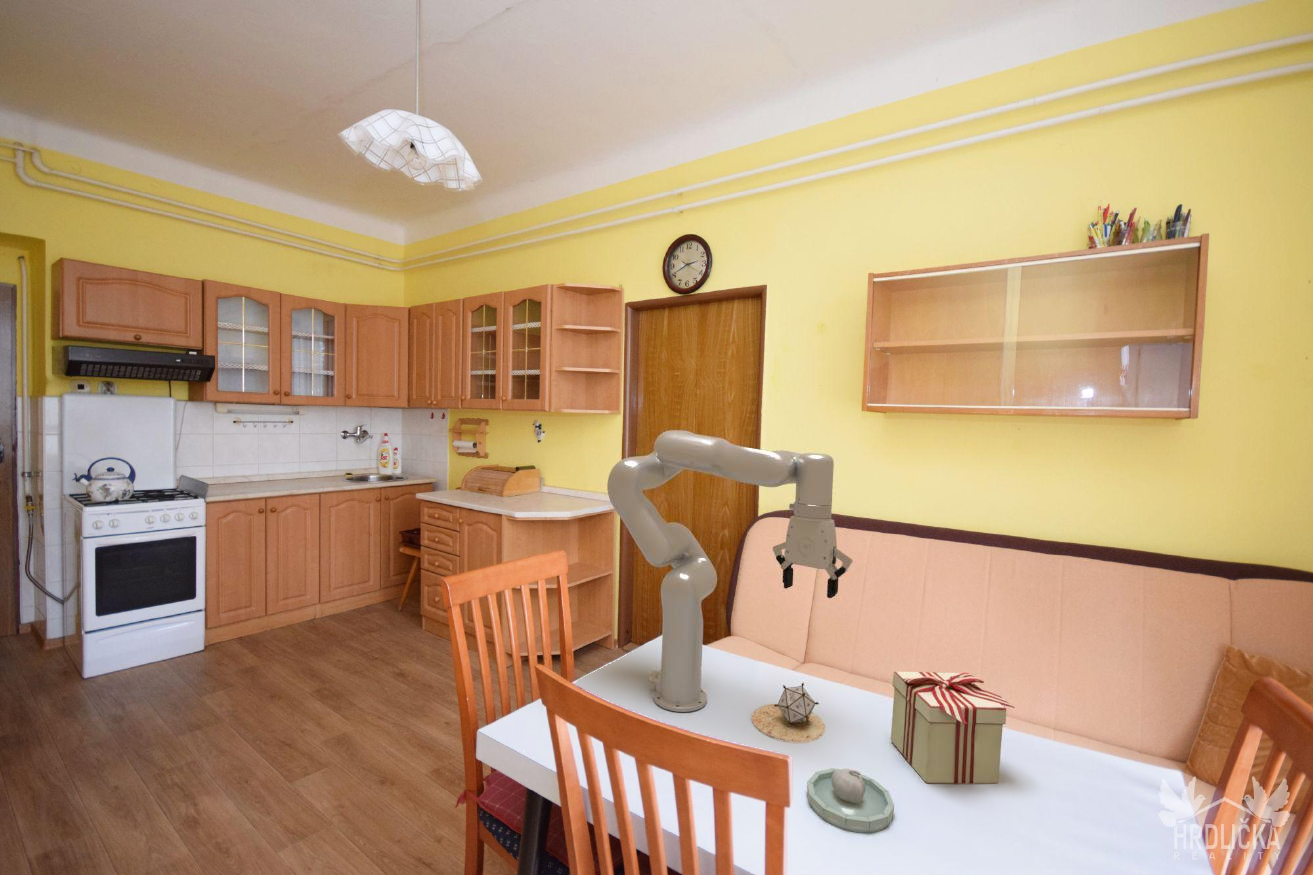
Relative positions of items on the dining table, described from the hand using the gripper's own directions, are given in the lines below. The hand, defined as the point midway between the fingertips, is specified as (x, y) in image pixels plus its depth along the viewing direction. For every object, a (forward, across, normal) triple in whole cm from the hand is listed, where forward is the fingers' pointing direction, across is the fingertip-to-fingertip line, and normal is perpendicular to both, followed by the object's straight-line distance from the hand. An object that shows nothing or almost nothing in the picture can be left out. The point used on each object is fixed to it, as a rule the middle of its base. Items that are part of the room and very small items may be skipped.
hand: (809, 591), depth 123 cm
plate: (+30, +16, -17) cm, 38 cm away
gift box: (+31, +27, +8) cm, 42 cm away
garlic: (+30, +16, -17) cm, 37 cm away
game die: (+31, -3, +3) cm, 31 cm away
